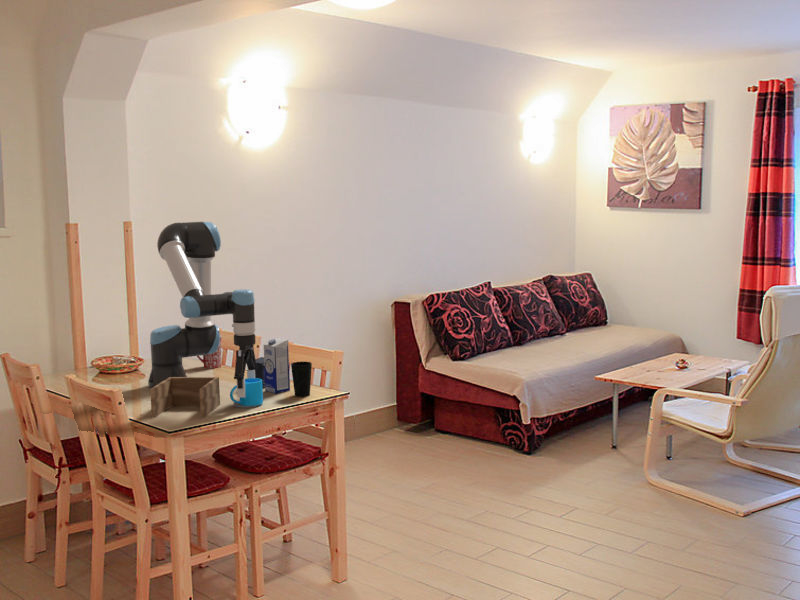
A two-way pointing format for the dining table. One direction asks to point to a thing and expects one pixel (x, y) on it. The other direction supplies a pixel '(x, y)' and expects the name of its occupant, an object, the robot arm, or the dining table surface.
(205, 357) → the mug
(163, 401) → the crate
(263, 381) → the small box
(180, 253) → the robot arm
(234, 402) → the coaster
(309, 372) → the cup
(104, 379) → the dining table surface
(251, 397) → the mug
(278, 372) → the milk carton
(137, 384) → the dining table surface
